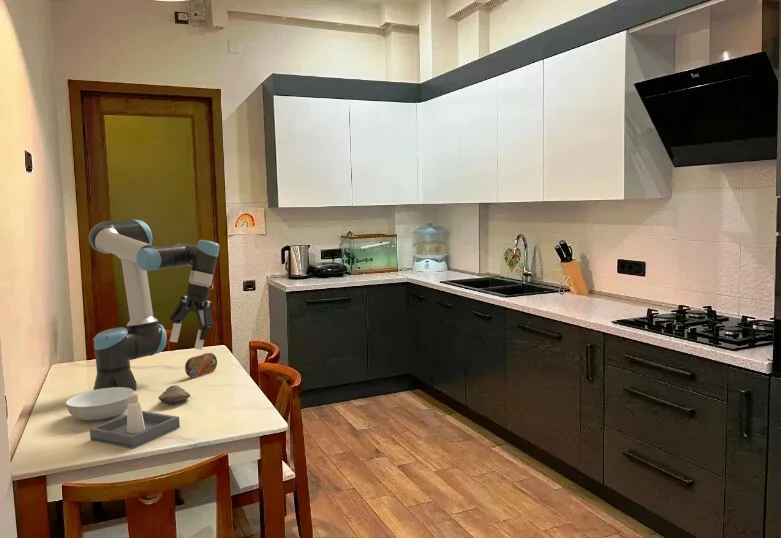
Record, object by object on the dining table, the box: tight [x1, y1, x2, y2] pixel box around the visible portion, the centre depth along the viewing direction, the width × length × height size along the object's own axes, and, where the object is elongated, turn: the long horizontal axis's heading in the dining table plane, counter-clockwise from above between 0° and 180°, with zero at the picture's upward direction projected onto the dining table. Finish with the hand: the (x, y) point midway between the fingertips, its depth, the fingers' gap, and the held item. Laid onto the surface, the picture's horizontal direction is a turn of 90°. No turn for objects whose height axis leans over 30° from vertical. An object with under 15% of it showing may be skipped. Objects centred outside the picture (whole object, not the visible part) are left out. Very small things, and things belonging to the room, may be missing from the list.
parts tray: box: [89, 410, 181, 450], centre depth 192 cm, size 18×18×4 cm
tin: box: [184, 352, 218, 379], centre depth 257 cm, size 15×3×8 cm, turn 148°
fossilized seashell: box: [157, 385, 191, 405], centre depth 221 cm, size 11×11×7 cm
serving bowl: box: [65, 387, 135, 422], centre depth 210 cm, size 21×21×7 cm
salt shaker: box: [126, 394, 145, 434], centre depth 191 cm, size 5×5×11 cm
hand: (185, 345), depth 214 cm, fingers open, 13 cm apart
